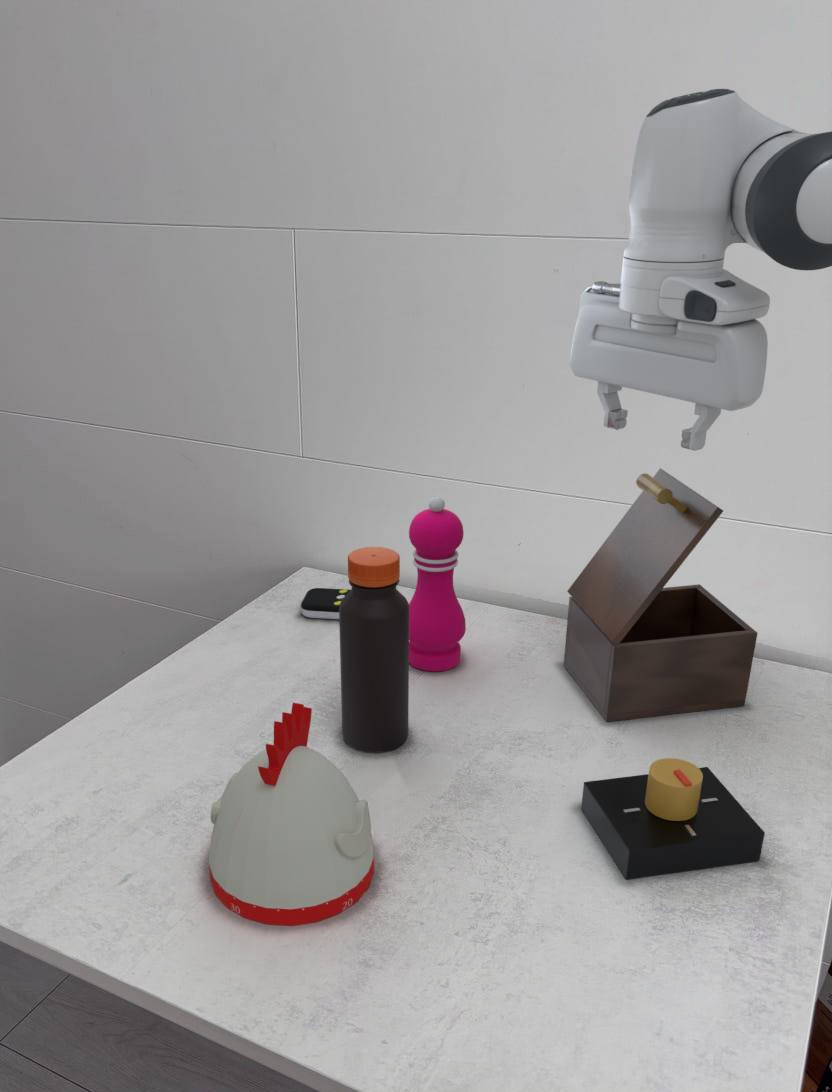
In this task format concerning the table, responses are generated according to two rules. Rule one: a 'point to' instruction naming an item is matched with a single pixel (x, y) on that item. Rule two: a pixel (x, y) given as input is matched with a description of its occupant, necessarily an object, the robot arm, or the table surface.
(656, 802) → the lock dial
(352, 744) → the bottle
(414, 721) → the table surface
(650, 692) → the chest
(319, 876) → the kitchen timer
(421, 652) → the pepper mill
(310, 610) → the remote control
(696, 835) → the rotary knob base
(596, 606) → the chest lid
